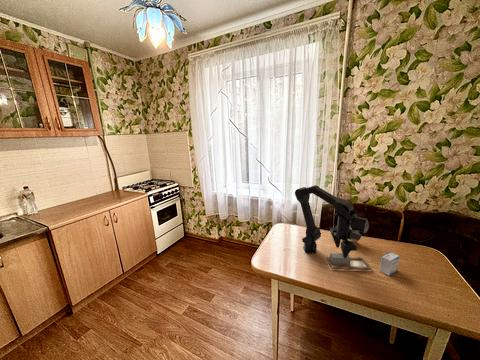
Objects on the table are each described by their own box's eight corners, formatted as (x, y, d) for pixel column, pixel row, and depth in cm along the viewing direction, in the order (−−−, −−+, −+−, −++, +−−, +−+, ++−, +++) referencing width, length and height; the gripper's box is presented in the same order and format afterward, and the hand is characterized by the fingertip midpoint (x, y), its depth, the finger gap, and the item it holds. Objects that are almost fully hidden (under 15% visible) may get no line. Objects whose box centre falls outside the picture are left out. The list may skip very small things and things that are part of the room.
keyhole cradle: (331, 270, 103) (331, 267, 102) (325, 259, 111) (325, 256, 111) (371, 271, 101) (371, 268, 100) (362, 260, 110) (362, 257, 109)
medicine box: (388, 276, 97) (391, 261, 95) (379, 271, 101) (381, 256, 99) (397, 270, 100) (400, 256, 98) (387, 265, 104) (390, 251, 102)
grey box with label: (332, 265, 105) (333, 257, 104) (329, 261, 109) (330, 252, 107) (349, 266, 104) (350, 257, 103) (346, 261, 108) (347, 253, 107)
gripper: (370, 235, 91) (366, 264, 95) (351, 218, 109) (348, 243, 113) (345, 234, 92) (342, 263, 96) (330, 218, 110) (328, 242, 114)
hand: (341, 252), depth 104 cm, fingers open, 9 cm apart
